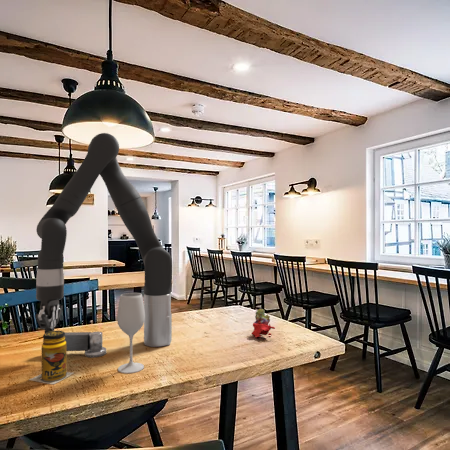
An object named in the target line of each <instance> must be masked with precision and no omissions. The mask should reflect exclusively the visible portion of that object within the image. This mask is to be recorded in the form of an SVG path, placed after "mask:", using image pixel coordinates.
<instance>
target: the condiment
mask: <svg viewBox="0 0 450 450" xmlns="http://www.w3.org/2000/svg"><path fill="white" fill-rule="evenodd" d="M42 338H43V339H42V344H41V353H40V354H41V371H40V372H41V373H40V374H38V375H36V376H33V378H29V379H28V381H32V382H37V383H42V384H48V385H49V384H50V385H55V384H57V383H60V382H61V381H63V380H65V379H66V378H68V377H70V376H71V375H73V374H74V372H73V371H72V372H71V371H67V370H68V369H67V365H68V364H67V363H68V362H67V358H68V357H67V355H68V354H67V351H66V350H67V345H66V341H65V331H64V330H54V331H51V332H47V333H45V332H44V334H43V336H42Z"/></svg>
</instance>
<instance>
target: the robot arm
mask: <svg viewBox="0 0 450 450" xmlns="http://www.w3.org/2000/svg"><path fill="white" fill-rule="evenodd" d="M119 152H120V143H119V141H118V140H117V137H115V136H114V135H112V134H110V133H108V132H101V133H98V134H96V135H94V137H93V138H92V139H91V141H90V143H89V144H88V147H87V154H86V155H85V157H84V159H83V160H82V163H81V164H80V166H79V167H78V169H77V170H76V172H75V173H74V174H73V175H72V177H71V178H70V179H69V180H68V182H67V183H66V185H65V186H64V188H63V189H62V190H61V192H60V194H59V195H58V197H57V198H56V200H55V202H54V203H53V204H52V206H51V207H50V208H48V210H47V211H46V212H45V214H44V215H43V216H42V218H41V219H40V220H39V222H38V223H37V225H36V234H37V236H38V237H39V238H40V239H41V245H40V250H39V252H38V254H37V270H36V271H37V272H36V281H35V282H36V286H35V288H36V289H35V292H36V293H35V299H36V300H37V301H40V306H39V312H38V313H36V314H35V316H34V317H35V320H36V322H37V323H38V325H39V327H40V329H43V330H44V334H45V333H47V332H51V331H55V328H56V325H57V324H59V321H60V317H61V314H62V311H63V305H60V300H62V299H63V298H64V295H65V293H64V291H65V287H64V286H65V272H64V251H65V247H66V242H67V235H68V234H67V233H68V231H67V226H66V225H67V223H68V221H70V219H71V218H72V217H74V216H75V215H76V214H77V212H78V211H79V210H80V208H81V207H82V205H83V203H84V202H85V200H86V198H87V196H88V195H89V193H90V192H91V190H92V188H93V186H94V184H95V183H96V181H97V179H98V178H99V176H100V177H101V178H102V181H103V182H104V184H105V187H106V189H107V191H108V193H109V196H110V198H111V200H112V202H113V205H114V207H115V209H116V210H117V213H118V215H119V216H120V219H121V220H122V222H123V224H124V225H125V227H126V229H127V230H128V232H129V233H130V234H131V236H132V238H133V239H134V242H135V243H136V245H137V247H138V251H139V253H140V255H141V259H142V261H143V265H144V283H143V284H144V285H143V286H144V287H143V303H144V311H145V319H144V324H143V344H144V345H145V346H147V347H150V348H151V347H152V348H153V347H154V348H159V347H163V346H170V345H171V342H172V340H173V339H172V336H173V333H172V329H173V328H172V327H173V326H172V325H173V324H172V322H173V321H172V320H173V318H172V316H173V315H172V312H171V311H172V309H171V308H172V305H171V304H172V300H171V299H172V297H171V295H172V293H171V292H172V283H173V281H172V279H173V260H172V256H171V254H170V252H168V251H167V250H166V249H165V248H164V247H163V245H162V243H161V242H160V240H159V239H158V237H157V235H156V233H155V231H154V228H153V225H152V221H151V218H150V214H149V212H148V210H147V207H146V205H145V202H144V201H143V200H144V199H143V198H142V196H141V194H140V193H139V191H138V189H136V187H135V186H134V184H132V183H131V181H130V180H129V179H127V177H126V176H125V174H124V173H123V171H122V168H121V166H120V164H119V162H118V159H117V156H118V155H119Z"/></svg>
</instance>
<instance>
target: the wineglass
mask: <svg viewBox="0 0 450 450" xmlns="http://www.w3.org/2000/svg"><path fill="white" fill-rule="evenodd" d="M119 296H120V297H119V300H118V306H117V314H116V315H117V317H116V319H117V320H116V321H117V325H118V327H119V329H120V330H121V331H122V332H123V333H124V334H126V335H127V336H128V338H129V362H128V363H123V364H121V365H120V366H118V368H117V372H119V373H121V374H135V373H139V372H141V371H143V370H144V367H145V365H144V364H143V363H142V362H141V363H140V362H134V360H133V341H134V340H133V339H134V336H135V334H137V333H139V331H140V330H141V329H142V327H144V319H145V311H144V297H143V294H142V293H141V292H127V293H126V292H125V293H122V294H120V295H119Z"/></svg>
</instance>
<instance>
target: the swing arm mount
mask: <svg viewBox="0 0 450 450" xmlns="http://www.w3.org/2000/svg"><path fill="white" fill-rule="evenodd" d="M106 354H107V348H106V347H104V346H102V350H99V351H89V350H88V351H84V356H85V358H89V359H90V358H91V359H92V358H100V357H103V356H105V355H106Z"/></svg>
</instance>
